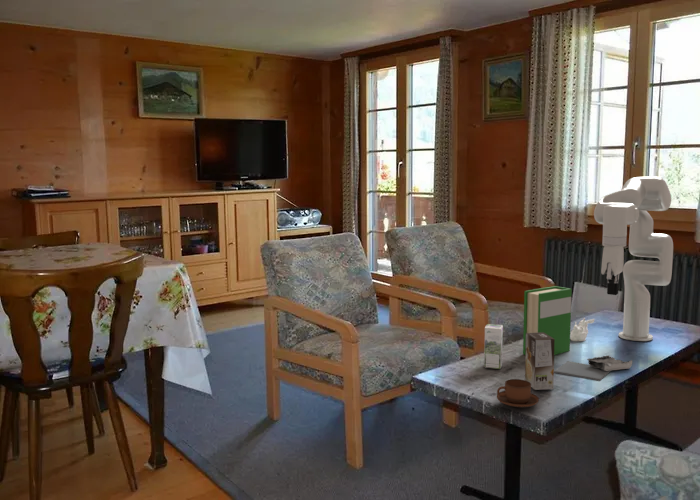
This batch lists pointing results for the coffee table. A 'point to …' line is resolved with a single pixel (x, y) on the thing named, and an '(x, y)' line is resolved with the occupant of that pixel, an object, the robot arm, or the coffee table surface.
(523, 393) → the cup and saucer
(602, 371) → the mat
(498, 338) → the syrup box
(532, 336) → the coffee box
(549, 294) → the hardback book
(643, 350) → the coffee table surface
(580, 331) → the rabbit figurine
